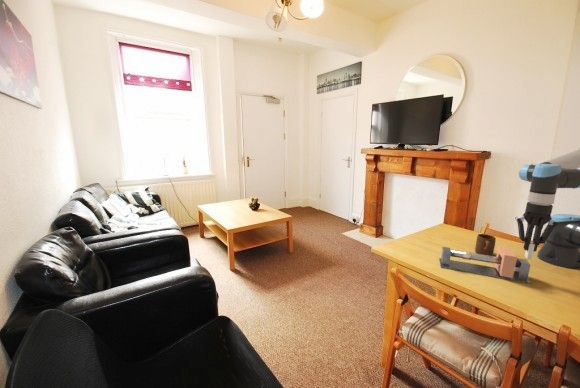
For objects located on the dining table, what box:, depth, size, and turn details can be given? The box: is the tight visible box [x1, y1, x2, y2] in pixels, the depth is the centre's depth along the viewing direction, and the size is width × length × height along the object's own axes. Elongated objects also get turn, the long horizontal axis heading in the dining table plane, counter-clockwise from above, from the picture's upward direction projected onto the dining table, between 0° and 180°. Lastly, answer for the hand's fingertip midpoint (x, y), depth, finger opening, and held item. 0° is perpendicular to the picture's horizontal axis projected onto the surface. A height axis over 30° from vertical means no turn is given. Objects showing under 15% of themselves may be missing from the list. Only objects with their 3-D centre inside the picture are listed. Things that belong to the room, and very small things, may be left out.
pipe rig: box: [438, 246, 532, 285], centre depth 115 cm, size 32×9×8 cm, turn 64°
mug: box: [474, 233, 497, 256], centre depth 130 cm, size 12×8×9 cm, turn 150°
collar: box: [494, 245, 518, 278], centre depth 111 cm, size 4×10×10 cm, turn 155°
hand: (528, 257), depth 108 cm, fingers closed
